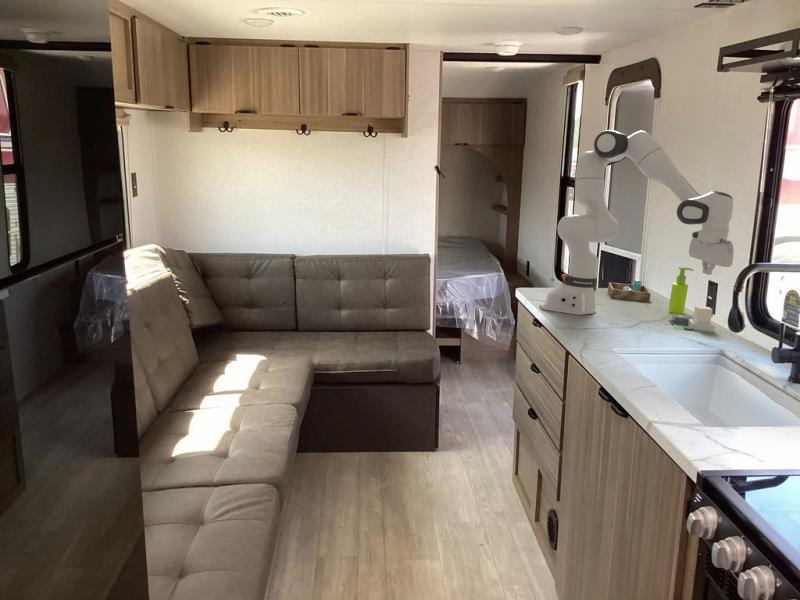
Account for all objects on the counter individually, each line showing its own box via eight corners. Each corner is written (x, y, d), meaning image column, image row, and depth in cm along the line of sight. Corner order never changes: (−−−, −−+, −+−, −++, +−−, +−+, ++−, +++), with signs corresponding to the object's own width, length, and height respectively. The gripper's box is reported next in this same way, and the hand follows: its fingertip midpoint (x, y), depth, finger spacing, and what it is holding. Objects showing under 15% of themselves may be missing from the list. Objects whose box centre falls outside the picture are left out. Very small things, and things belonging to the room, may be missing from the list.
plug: (694, 329, 240) (698, 308, 239) (691, 326, 244) (695, 305, 242) (711, 330, 240) (714, 309, 238) (707, 327, 244) (711, 307, 242)
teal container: (648, 300, 293) (650, 283, 291) (621, 298, 293) (623, 281, 292) (640, 294, 305) (642, 277, 303) (614, 292, 305) (616, 276, 303)
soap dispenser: (687, 317, 263) (695, 269, 258) (669, 316, 264) (677, 268, 259) (683, 314, 268) (691, 267, 264) (666, 312, 269) (674, 265, 265)
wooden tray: (610, 297, 292) (612, 289, 291) (607, 290, 307) (608, 282, 306) (649, 301, 288) (650, 293, 287) (644, 294, 304) (645, 285, 303)
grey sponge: (671, 324, 245) (672, 318, 244) (667, 319, 253) (668, 313, 252) (690, 326, 243) (691, 320, 243) (686, 321, 251) (687, 315, 251)
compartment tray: (674, 332, 239) (676, 322, 238) (667, 322, 253) (669, 313, 252) (715, 336, 236) (716, 327, 235) (705, 326, 250) (707, 317, 249)
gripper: (741, 242, 225) (733, 280, 228) (703, 232, 244) (697, 268, 248) (725, 241, 224) (718, 280, 227) (688, 232, 243) (682, 268, 246)
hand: (706, 273), depth 238 cm, fingers closed
